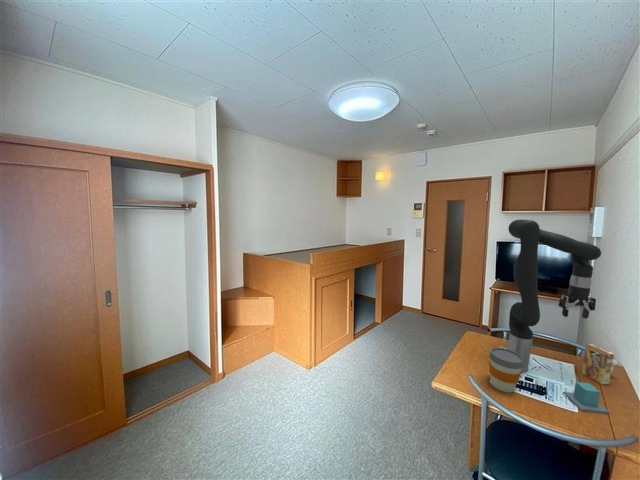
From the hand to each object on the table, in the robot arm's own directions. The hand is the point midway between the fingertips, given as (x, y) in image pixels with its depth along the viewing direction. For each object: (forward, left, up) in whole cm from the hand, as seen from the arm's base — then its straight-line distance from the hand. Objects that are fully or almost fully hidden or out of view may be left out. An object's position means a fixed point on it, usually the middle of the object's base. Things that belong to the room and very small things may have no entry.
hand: (574, 317), depth 132 cm
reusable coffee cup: (-39, -19, -28) cm, 52 cm away
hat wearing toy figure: (+17, 0, -28) cm, 33 cm away
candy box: (+9, -5, -28) cm, 30 cm away
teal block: (-10, -25, -27) cm, 38 cm away
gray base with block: (-10, -25, -28) cm, 39 cm away
